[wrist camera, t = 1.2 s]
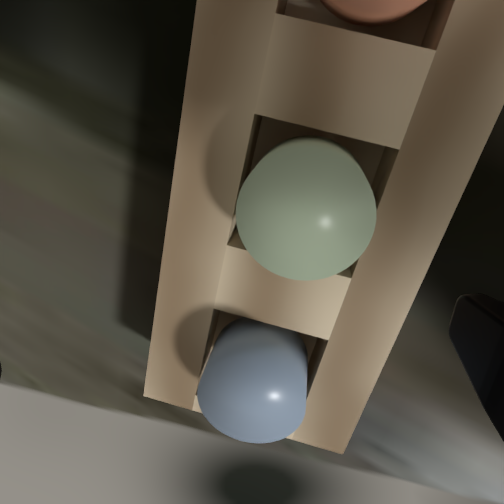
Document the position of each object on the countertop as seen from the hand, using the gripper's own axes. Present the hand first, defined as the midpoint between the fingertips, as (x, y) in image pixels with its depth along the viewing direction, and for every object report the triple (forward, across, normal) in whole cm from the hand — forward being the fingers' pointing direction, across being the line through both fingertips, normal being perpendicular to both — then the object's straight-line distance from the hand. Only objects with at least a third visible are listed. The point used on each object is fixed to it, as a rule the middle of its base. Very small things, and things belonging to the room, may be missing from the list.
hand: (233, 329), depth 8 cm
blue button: (+8, -1, +8) cm, 11 cm away
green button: (+8, -3, +1) cm, 9 cm away
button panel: (+10, -4, +1) cm, 11 cm away
